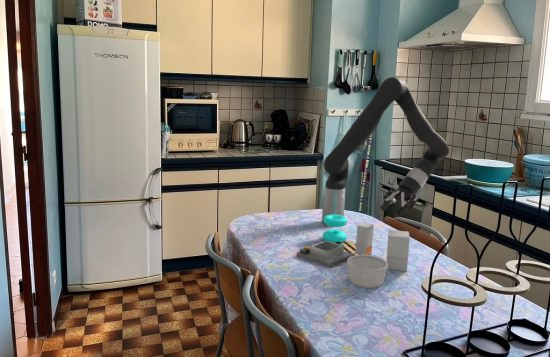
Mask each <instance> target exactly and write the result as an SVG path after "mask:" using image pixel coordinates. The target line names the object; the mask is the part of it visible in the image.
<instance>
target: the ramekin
mask: <svg viewBox="0 0 550 357" xmlns="http://www.w3.org/2000/svg"><path fill="white" fill-rule="evenodd" d="M346 265H347V275H348V280H349V281H350V282H351V284H353V285H354V286H357V287H359V288H365V289H374V288H378V287H380V286H382V285H383V283H384V282H385V278H386V273H387V270H388V269H387V268H388V264H387V260H385V259H383V258H382V257H379V256H375V255H371V254H370V255H355V254H354V255H353V256H351V257H349V258H348V260H347V261H346Z"/></svg>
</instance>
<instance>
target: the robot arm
mask: <svg viewBox="0 0 550 357" xmlns="http://www.w3.org/2000/svg"><path fill="white" fill-rule="evenodd" d="M407 84H408V83H407V82H406V81H405V80H404V79H403V78H401V77H395V76H391V77H387V78H386V79H385V80H383V82H382V83H381V84H380V86H379V87H378V89H377V91H376V93H375V94H374V95H373V98H372V99H371V101H369V103H368V105H366V107H365V108H364V109H363V110H362V111H361V113H360V114H359V115H358V117H356V119H355V120H354V122H353V123H352V124H351V126H350V128H348V130H347V131H346V132H345V135H343V137H342V139H341V140H340V142H338V144H337V145H336V146H335V148H333V150H332V151H331V152H330V153H329V154H327V156H326V157H325V159H324V161H323V169H324V171H325V173H327V174H329V175H328V178H327V179H326V180H325V190H324V191H325V192H324V202H323V203H322V212H321V214H322V215H321V222H322V223H323V224H324V225H326V224H325V223H324V221H323V219H324V217H325V216H327V215H342V216H344V217H345V202H346V201H345V199H346V185H347V183H348V178H349V167H350V166H349V165H350V164H349V158H350V157H351V155H352V154H353V153H354V152H355V151H356V150H357V149H359V148H360V147H361V146H362V145H363V144H364V143H365V142H367V140H368V139H369V138H370V137H371V136H372V134H374V132H375V130H376V129H377V128H378V126H379V123H380V121H381V119H382V117H383V114H384V113H385V111H386V110H387V108H389V106H391V104H392V103H393V102H395V103H396V104H397V105H398V106H399V107H400V109H401V110H402V112H403V113H404V116H405V118H406V120H407V122H408V125H409V128H410V129H411V131H412V133H414V135H415V136H416V137H417V139H418V140H419V142H421V143H425V144H426V145H427V146H428V148H427V149H426V150H425V151H424V153H423V155H422V156H421V158H420V159H419V160H418V161H417V163H416V164H415V165H414V166H413V168H412V169H411V170H409V171H408V173H407V174H406V176H405V177H404V178H403V179H402V180H401V181H400V182H399V185H398V188H397V189H395V188H394V187H390V189H389V190H388V191H387V192H386V193H385V195H384V196H383V197H382V199H383V201H384V202H383V203H382V204H381V206H380V207H379V208H380V210H381V211H382V212H385V211H386V210H387V209H388V207H389V206H390V205H391V204H393V203H400V204H401V206H399V208H397V209H396V211H395V212H394V215H395V216H396V217H397V218H400V217H401V216H402V215H403V213H404V212H405V211H407V210H408V211H411V210H412V209H413V208H414V206H415V205H416V203H417V202H418V201H419V197H418V196H417V194H418V193H419V192H420V190H421V189H422V188H423V186H424V185H425V184H426V183H427V180H428V179H429V178H430V177H431V175H432V174H433V173H434V171H435V169H436V166H438V164H439V163H440V162H441V161H442V160H443V159H444V158H446V157H447V156H448V155H449V154H450V148H449V144H448V142H446V140H445V139H444V138H443V137H442V136H441V135H440V134H439V133H438V132H436V131H435V129H434V128H433V127H432V125H431V124H430V122H429V120H428V119H427V118H426V117H425V115H424V113H423V112H422V111H421V109H420V107H419V106H418V104H417V103H416V101H415V99H414V98H413V95H412V93H411V91H410V88H409V86H408V85H407Z"/></svg>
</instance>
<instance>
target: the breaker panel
mask: <svg viewBox="0 0 550 357" xmlns="http://www.w3.org/2000/svg"><path fill="white" fill-rule="evenodd" d="M351 256H354V254H353V253H351V252H348V251H345V245H343V244H340V243H333V242H330V241H327V240H323V241H319V242H318V243H316V244H313V245H310V246H308V245H305V246H303V248H301V249H299V251H296V257H298V258H302V259H304V260H307V261H309V262H313V263H316V264H319V265H322V266H325V267H328V268H330V269H331V268H333V267H336V266H338V265H340V264H343V263H344V262H347V259H348V258H349V257H351Z"/></svg>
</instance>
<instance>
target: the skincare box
mask: <svg viewBox="0 0 550 357" xmlns="http://www.w3.org/2000/svg"><path fill="white" fill-rule="evenodd" d="M374 226H375V224H374V223H370V222H369V223H368V222H365V221H364V222H362V223H360V224H358V225H357V227H356V241H355V251H354V252H355V254H358V255H367V254H369V253H370V255H371V254H372V252H373V240H374ZM355 254H354V255H355Z"/></svg>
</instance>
